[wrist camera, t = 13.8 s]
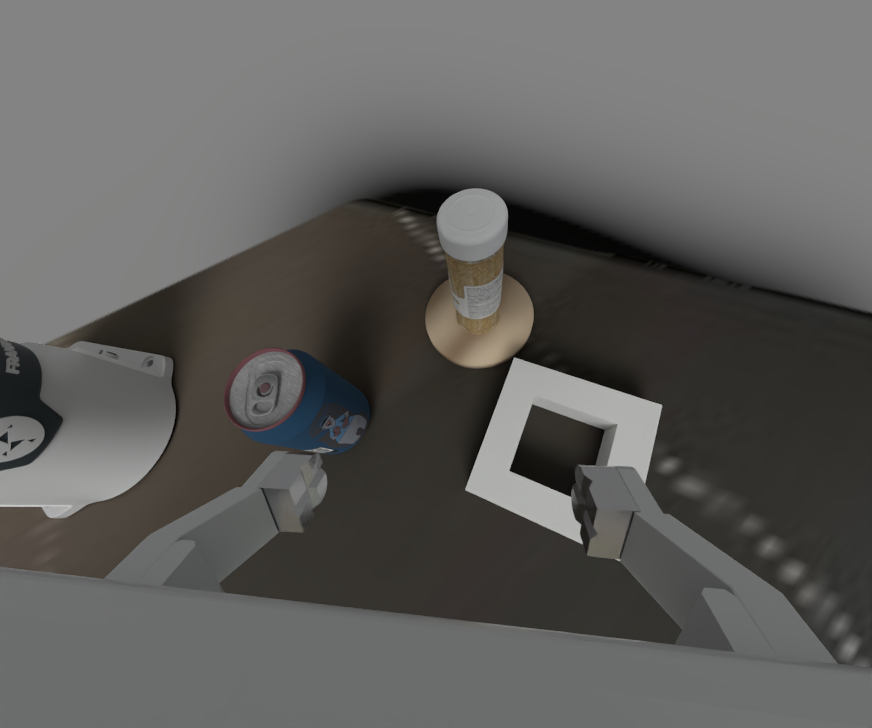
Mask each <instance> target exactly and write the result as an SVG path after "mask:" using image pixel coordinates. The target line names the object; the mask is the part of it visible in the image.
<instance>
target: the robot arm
mask: <svg viewBox="0 0 872 728" xmlns="http://www.w3.org/2000/svg"><path fill="white" fill-rule="evenodd" d="M172 373H173V360H172V359H171V358H169V357H166V356H162V355H157V354H152V353H146V352H141V351H135V350H129V349H124V348H118V347H112V346H107V345H101V344H96V343H90V342H84V341H79V342H77V343H75V344H73V345H72V346H70V347H69V348H67V349H65V348H60V347H55V346H49V345H43V344H37V343H29V342H26V343H21V344H18V343H14V342H10V341H6V340H4V339H1V338H0V507H42V509H43V510H44V512H45V513H46V515H47V516H48V517H50V518H65V517H68V516H70V515H72V514H73V513H75V512H77V511H78V510H80V509H81V508H83V507H84V506H85V505H87V504H90V503H93V502H98V501H103V500H107V499H110V498H113V497H115V496H117V495H119V494H121V493H123V492H125V491H126V490H128V489H130V488H131V487H132V486H134V485H135V484H136V483H137V482H139V481H140V480H141V479H142V478H143V477H144V476H145V475H146V474H147V473H148V472H149V471H150V469H151V468H152V467H153V466H154V464H155V463H156V462H157V460H158V459H159V457H160V456H161V454H162V453H163V451H164V449H165V447H166V445H167V443H168V441H169V438H170V436H171V433H172V430H173V426H174V422H175V415H176V402H175V396H174V393H173V389H172V385H171V379H172ZM322 463H323V462H322V459H321V456H320V455H319V454H317V453H305V452H291V451H290V452H285V451H275V452H272V453H271V454H270V455H269V456H268V457H267V459H266V460H265V461H264V462H263V463H262V464H261V465H260V466H259V468H258V469H257V470H256V471H255V472H254V473H253V474H252V476H251V477H250V478H249V479H248V480H247V481H246V482H245V484H244V485H243V486H242V487H236V488H234V489H232V490H230V491H229V492H227V493H225V494H223V495H221V496H220V497H218V498H216V499H214V500H212V501H210V502H209V503H207V504H205V505H203V506H201V507H199V508H198V509H196V510H194V511H192V512H190V513H189V514H187V515H185V516H183V517H181V518H179V519H178V520H176V521H174V522H172V523H170V524H168V525H167V526H165V527H163V528H161V529H159V530H157V531H156V532H154V533H152V534H150V535H149V536H148V537H147V538H146V539H144V540H143V541H142V542H141V543H140V544H139V545H138V546H137V547H136V548H135V549H134V550H133V551H132V552H131V553H130V554H129V555H128V556H127V557H126V558H125V559H124V560H123V561H122V562H121V563H120V564H119V565H118V566H117V567H116V568H115V569H113V570H112V571H111V572H110V573H109V574H108V575H107V576H106V577H105V578H104V579H100V578H91V577H83V576H74V575H65V574H57V573H48V572H40V571H31V570H22V569H14V568H5V567H0V728H872V668H870V667H862V666H853V665H844V664H838V663H837V662H836V661H835V660H834V658H833V657H832V656H831V655H830V653H829V652H828V651H827V650H826V648H825V647H824V646H823V644H822V643H821V642H820V641H819V639H818V638H817V637H816V636H815V634H814V633H813V632H812V631H811V629H810V628H809V627H808V626H807V624H806V623H805V622H804V620H803V619H802V618H801V617H800V615H799V614H798V613H797V612H796V610H795V609H794V608H793V607H792V605H791V604H790V603H789V602H788V600H787V599H786V598H785V597H784V595H783V594H782V593H781V592H779V591H778V590H777V589H775V588H774V587H772V586H771V585H769V584H768V583H767V582H765V581H764V580H762V579H761V578H759V577H758V576H757V575H755V574H754V573H752V572H751V571H749V570H748V569H747V568H745V567H744V566H742V565H741V564H739V563H738V562H737V561H735V560H734V559H732V558H731V557H730V556H728V555H727V554H725V553H724V552H722V551H721V550H720V549H718V548H717V547H715V546H714V545H712V544H711V543H710V542H708V541H707V540H705V539H704V538H702V537H701V536H700V535H698V534H697V533H695V532H694V531H692V530H691V529H690V528H688V527H687V526H685V525H684V524H682V523H681V522H680V521H678V520H677V519H675V518H674V517H672V516H671V515H670V514H663V512H662V511H661V509H660V508H659V506H658V504H657V503H656V501H655V500H654V498H653V496H652V495H651V493H650V492H649V490H648V488H647V487H646V485H645V483H644V482H643V480H642V479H641V477H640V475H639V474H638V472H637V471H636V469H635V468H633V467H629V466H593V465H577V467H576V468H575V474H574V476H575V478H576V481H577V483H575V484H574V485H573V486H572V492H571V502H572V509H573V513H574V517H575V520H576V521H578V522H579V523H580V524H581V529H580V536H581V539H582V542H583V546H584V549H585V552H586V555H587V556H593V557H602V558H612V559H620V562H621V563H622V564H623V565H624V566H625V567H626V568H627V569H628V570H629V572H630V573H631V574H632V575H633V576H634V577H635V578H636V579H637V580H638V581H639V582H640V584H641V585H642V586H643V587H644V588H645V589H646V590H647V591H648V592H649V593H650V595H651V596H652V597H653V598H654V599H655V600H656V601H657V602H658V603H659V604H660V606H661V607H662V608H663V609H664V610H665V611H666V612H667V613H668V614H669V615H670V616H671V618H672V619H673V620H674V621H675V622H676V623H677V624H678V625H679V626H680V627H681V629H682V632H681V634H680V636H679V638H678V639H677V641H676V643H675V645H671V644H662V643H654V642H645V641H636V640H628V639H619V638H610V637H602V636H593V635H584V634H576V633H567V632H558V631H550V630H541V629H532V628H524V627H515V626H506V625H498V624H489V623H480V622H472V621H463V620H454V619H446V618H437V617H428V616H420V615H411V614H402V613H393V612H385V611H376V610H367V609H358V608H350V607H341V606H332V605H324V604H315V603H306V602H298V601H289V600H281V599H272V598H263V597H255V596H246V595H237V594H229V593H225V592H224V591H223V589H222V587H221V585H220V584H219V583H220V582H221V581H222V580H223V579H224V578H226V577H227V576H228V575H229V574H230V573H231V572H233V571H234V570H235V569H236V568H237V567H239V566H240V565H241V564H242V563H243V562H244V561H246V560H247V559H248V558H249V557H250V556H252V555H253V554H254V553H255V552H256V551H257V550H259V549H260V548H261V547H262V546H263V545H265V544H266V543H267V542H268V541H269V540H271V539H272V538H273V537H274V536H275V535H276V534H278V531H286V532H305V530H306V528H307V526H308V525H309V523H310V521H311V519H312V517H313V516H314V509H313V507H315V506H316V505H318V504H319V503H320V502H321V501H322V499H323V497H324V495H325V492H326V488H327V477H326V473H325V472H324V471H323V470H322V469H321V468H320V466H321V465H322Z"/></svg>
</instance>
